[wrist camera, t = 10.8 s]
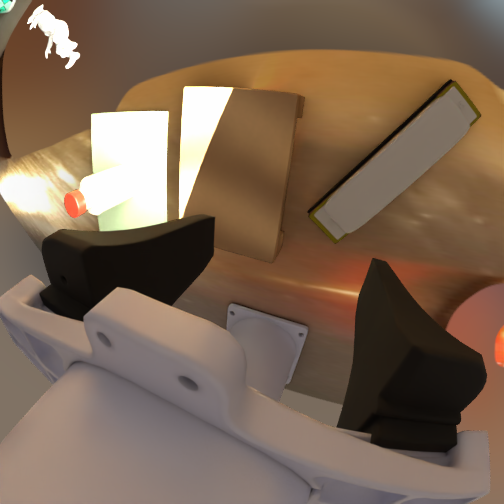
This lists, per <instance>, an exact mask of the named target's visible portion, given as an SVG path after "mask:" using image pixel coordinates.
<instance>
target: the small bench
mask: <svg viewBox="0 0 504 504" xmlns="http://www.w3.org/2000/svg"><path fill="white" fill-rule="evenodd" d="M304 99H305V97H303V96H301V95H298V94H293V93H286V92H277V91H268V90H258V89H245V88H228V87H184V95H183V108H182V125H181V145H180V180H179V219H180V218H184V217H189V216H193V215H199V214H205V215H210V216H214V217H215V232H214V247H215V248H219V249H222V250H226V251H229V252H233V253H236V254H240V255H244V256H247V257H251V258H254V259H258V260H261V261H265V262H269V263H273V262H274V260H275V259H276V257H277V255H278V254H279V252H280V250H281V248H282V242H283V236H284V231H280V229H281V223H282V217H283V210H284V204H285V198H286V191H287V185H288V178H289V172H290V165H291V158H292V152H293V145H294V138H295V131H296V123H297V118H302V114H303V107H304Z"/></svg>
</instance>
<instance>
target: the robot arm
mask: <svg viewBox="0 0 504 504" xmlns="http://www.w3.org/2000/svg"><path fill="white" fill-rule="evenodd" d="M214 232H215V217H214V216H210V215H205V214H199V215H193V216H189V217H184V218H180V219H176V220H172V221H168V222H164V223H160V224H155V225H151V226H146V227H141V228H134V229H127V230H114V231H78V230H67V229H61V230H58V231H57V232H55V233H53V234H51V235H50V236H48V237H46V238H45V239H44V241H43V244H42V255H43V260H44V263H45V267H46V270H47V273H48V277H49V279H50V283H51V285H49V286H48V287H47V288H46V287H45V285H44V284H43V283H42V282H41V281H40V280H38V279H37V278H35V277H34V276H33V275H29V276H28V277H26V278H25V279H23V280H22V281H21V282H19V283H18V284H17V285H15V286H14V287H13V288H11V289H10V290H8V291H7V292H6V293H5V294H3V295H2V296H1V297H0V318H1V320H2V321H3V323H4V325H5V327H6V329H7V331H8V332H9V335H10V336H11V338H12V340H13V342H14V343H15V344H16V346H17V347H18V348H19V349H20V350H21V351H22V352H23V353H24V354H25V356H27V358H28V359H29V360H30V361H31V362H32V363H33V364H34V365H35V366H36V367H37V369H38V370H39V371H40V372H41V373H42V374H43V375H44V376H45V377H46V378H47V379H48V380H49V381H50V382H51V383H52V384H53V385H52V386H51V387H50V388H49V390H48V391H47V392H46V393H45V394H44V395H43V396H42V397H41V398H40V399H39V400H38V402H36V404H35V405H34V406H33V407H32V408H31V409H30V410H29V411H28V412H27V413H26V414H25V416H24V417H23V418H22V419H21V420H20V421H19V422H18V423H17V425H16V426H15V427H14V428H13V429H12V430H11V431H10V433H9V434H8V435H7V436H6V437H5V438H4V440H3V441H2V442H1V443H0V504H468V503H470V502H473V501H475V500H477V499H479V498H481V497H483V496H485V495H487V494H488V493H489V492H490V456H489V442H488V432H487V431H470V430H467V431H462V432H459V433H457V429H456V425H458V424H459V423H460V422H461V414H460V412H461V411H463V410H464V408H466V407H467V406H468V405H469V404H470V403H471V402H472V401H473V400H474V399H475V398H476V397H477V395H478V394H479V393H480V392H481V390H482V389H483V387H484V385H485V383H486V378H487V373H486V369H485V365H484V362H483V358H482V355H481V354H480V353H478V352H476V351H475V350H473V349H471V348H470V347H468V346H466V345H465V344H463V343H462V342H460V341H459V340H458V339H456V338H455V337H453V336H452V335H451V334H449V333H448V332H447V331H446V330H444V329H443V328H442V327H441V326H440V325H439V324H438V323H436V322H435V321H434V320H433V319H432V318H431V317H430V316H429V315H428V314H427V313H426V312H425V311H424V310H423V309H422V308H421V307H420V306H419V304H418V303H417V302H416V301H415V300H414V298H413V297H412V296H411V295H410V293H409V292H408V291H407V290H406V288H405V287H404V286H403V284H402V283H401V281H400V280H399V279H398V277H397V276H396V274H395V273H394V271H393V270H392V269H391V267H390V266H389V265H388V263H387V262H386V261H382V260H379V259H375V258H373V259H372V261H371V264H370V267H369V270H368V273H367V275H366V278H365V281H364V283H363V286H362V289H361V291H360V294H359V297H358V303H357V309H356V316H355V339H354V356H353V364H352V369H351V374H350V379H349V384H348V388H347V392H346V396H345V400H344V404H343V407H342V411H341V414H340V418H339V421H338V424H337V427H333V426H328V425H325V424H323V423H321V422H319V421H316V420H314V419H312V418H310V417H308V416H306V415H304V414H302V413H300V412H298V411H295V410H293V409H291V408H290V407H288V406H285V405H283V404H282V403H280V402H279V401H280V398H281V395H282V393H283V390H284V387H285V384H288V383H290V380H291V378H292V375H293V372H294V370H295V367H296V364H297V362H298V359H299V356H300V353H301V350H302V347H303V345H304V342H305V339H306V336H307V333H308V327H307V326H305V325H302V324H298V323H295V322H291V321H288V320H285V319H281V318H278V317H275V316H272V315H268V314H265V313H262V312H259V311H255V310H252V309H249V308H246V307H243V306H240V305H237V304H233V303H232V304H230V305H229V306H228V315H227V331H226V330H225V329H223V328H221V327H219V326H218V325H216V324H214V323H212V322H211V321H208V320H205V319H203V318H200V317H197V316H195V315H192V314H190V313H187V312H184V311H182V310H179V309H177V308H174V307H172V305H173V304H174V302H175V301H176V300H177V299H178V298H179V297H180V296H181V295H182V293H183V292H184V291H185V290H186V289H187V288H188V287H189V286H190V285H191V284H192V283H193V282H194V280H195V279H196V278H197V277H198V276H199V275H200V274H201V273H202V272H203V270H204V269H205V267H206V266H207V265H208V263H209V262H210V260H211V258H212V257H213V255H214ZM232 311H233V312H234V313H233V312H232ZM300 333H303V334H300Z"/></svg>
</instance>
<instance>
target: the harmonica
mask: <svg viewBox="0 0 504 504" xmlns="http://www.w3.org/2000/svg"><path fill="white" fill-rule="evenodd" d="M480 117H481V114H480V112H479V111H478V109H477V108H476V107H475V105H474V104H473V103H472V101H471V100H470V99H469V97H468V96H467V95H466V93H465V92H464V91H463V90H462V88H461V87H460V86H459V85H458V83H457V82H456V81H452V80H451V79H450V80H449V81H447V82H446V83H445V84H444V85H443V86H442V87H441V88H440V89H439V90H438V91H437V92H436V93H435V94H433V95H432V96H431V97H430V98H429V99H428V100H427V101H426V102H425V103H424V104H423V105H422V106H421V107H420V108H418V109H417V110H416V111H415V112H414V113H413V114H412V115H411V116H410V117H409V118H408V119H407V120H406V121H405V122H403V123H402V124H401V125H400V126H399V127H398V128H397V129H396V130H395V131H394V132H393V133H392V134H391V135H389V136H388V137H387V138H386V139H385V140H384V141H383V142H382V143H381V144H380V145H379V146H378V147H377V148H375V149H374V150H373V151H372V152H371V153H370V154H369V155H368V156H367V157H366V158H365V159H364V160H362V161H361V162H360V163H359V164H358V165H357V166H356V167H355V168H354V169H353V170H352V171H351V172H349V173H348V174H347V175H346V176H345V177H344V178H343V179H342V180H341V181H340V182H339V183H337V184H336V185H335V186H334V187H333V188H332V189H331V190H330V191H329V192H328V193H327V194H325V195H324V196H323V197H322V198H321V199H320V200H319V201H318V202H317V203H316V204H315V205H313V206H312V207H311V208H310V209H309V210H308V213H309V218H310V219H311V220H312V221H313V222H314V223H315V224H316V225H317V226H318V227H319V228H320V229H321V230H322V231H323V232H324V233H325V234H326V235H327V236H328V237H329V238H330V239H331V240H332V241H333V243H335V244H336V243H338V242H339V241H340V240H342V239H343V238H344V237H345V236H347V235H348V234H349V233H351V232H353V231H355V230H356V229H358V228H359V227H361V226H362V225H363V224H365V223H366V222H367V221H368V220H370V219H371V218H372V217H373V216H375V215H376V214H377V213H378V212H379V211H381V210H382V209H383V208H384V207H385V206H387V205H388V204H389V203H390V202H391V201H392V200H394V199H395V198H396V197H397V196H398V195H399V194H401V193H402V192H403V191H404V190H405V189H406V188H408V187H409V186H410V185H411V184H412V183H413V182H414V181H416V180H417V179H418V178H419V177H420V176H421V175H422V174H423V173H425V172H426V171H427V170H428V169H429V168H430V167H431V166H432V165H434V164H435V163H436V162H437V161H438V160H439V159H440V158H441V157H442V156H443V155H444V154H446V153H447V152H448V151H449V150H450V149H451V148H452V147H453V146H454V145H455V144H456V143H457V142H458V141H459V140H460V139H461V138H462V137H463V136H464V135H465V134H466V133H467V131H468V130H469V128H470V127H471V126H472V125H473V124H474V123H475V122H476V121H477V120H478V119H479V118H480Z"/></svg>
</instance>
